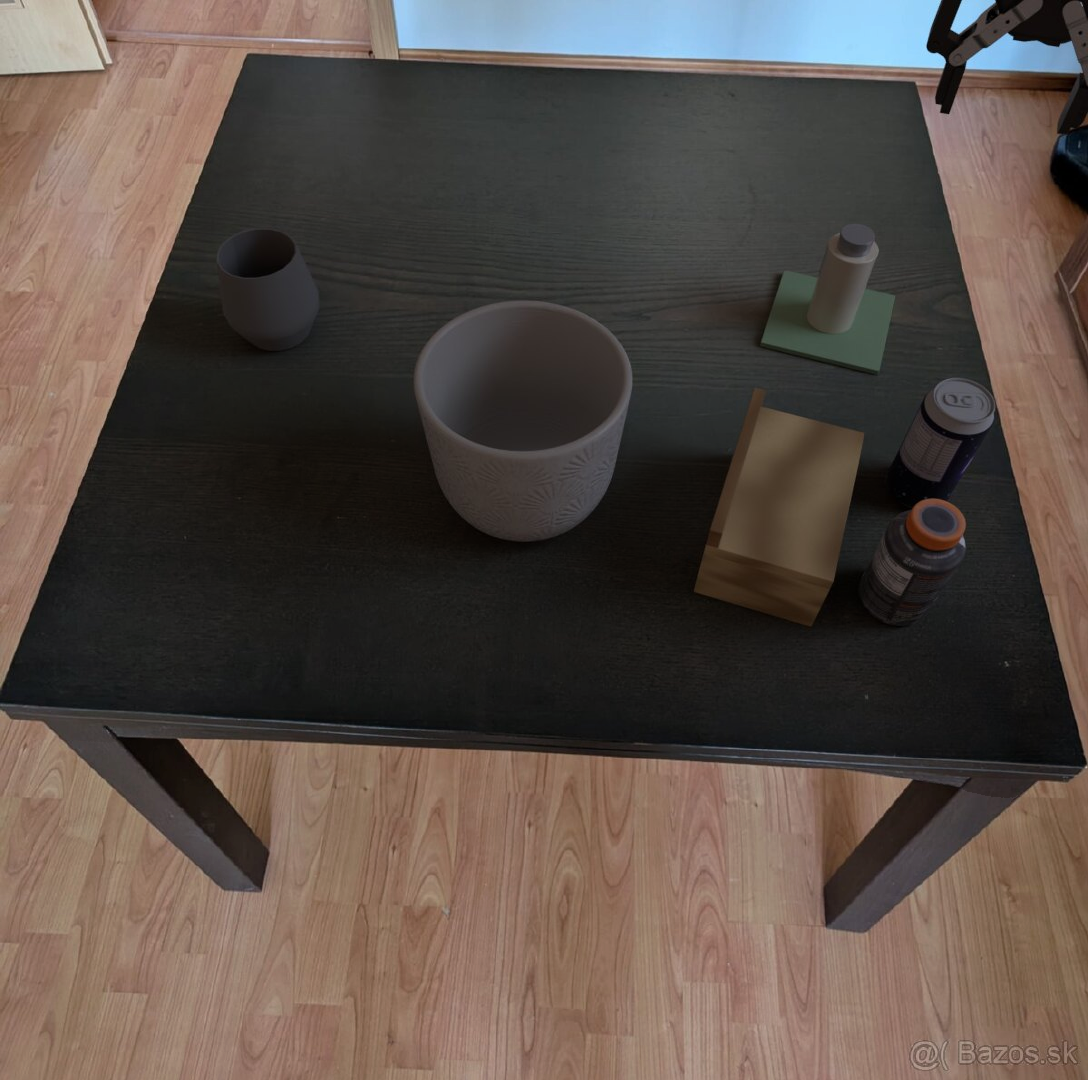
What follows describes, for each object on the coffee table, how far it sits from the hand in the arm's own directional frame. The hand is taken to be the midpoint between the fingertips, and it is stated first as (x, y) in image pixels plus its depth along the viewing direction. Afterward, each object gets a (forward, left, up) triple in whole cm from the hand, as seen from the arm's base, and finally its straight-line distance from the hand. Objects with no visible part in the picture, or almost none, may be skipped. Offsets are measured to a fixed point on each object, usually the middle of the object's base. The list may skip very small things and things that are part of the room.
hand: (1003, 118), depth 71 cm
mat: (+7, -6, -27) cm, 29 cm away
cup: (+60, +15, -28) cm, 68 cm away
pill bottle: (-4, +26, -28) cm, 38 cm away
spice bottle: (+7, -6, -27) cm, 28 cm away
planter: (+29, +26, -28) cm, 48 cm away
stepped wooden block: (+7, +23, -27) cm, 37 cm away
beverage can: (-4, +14, -28) cm, 31 cm away
